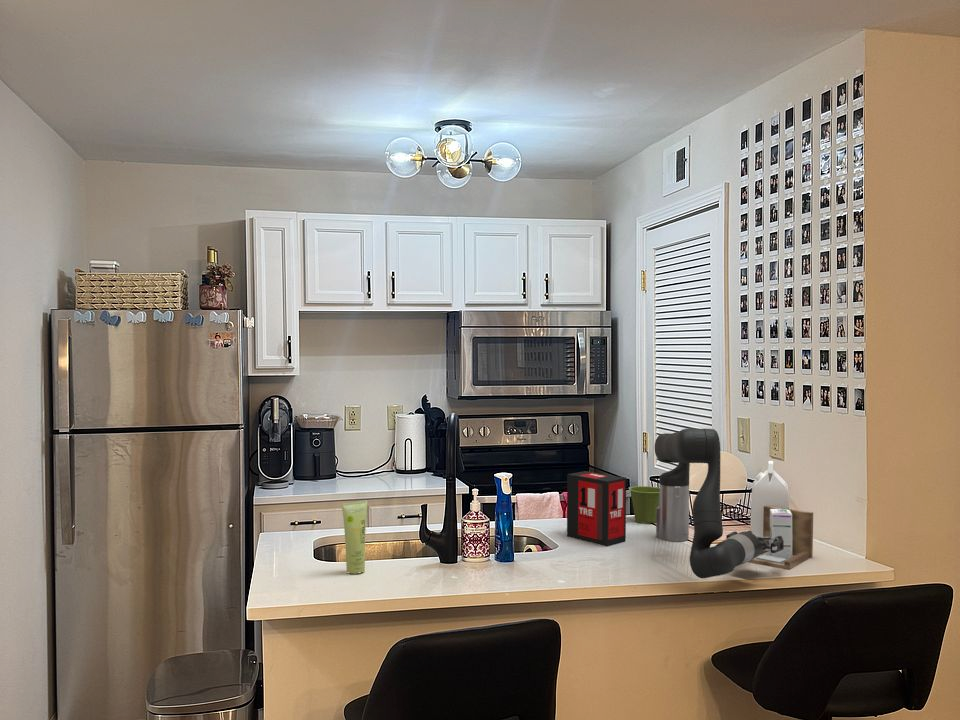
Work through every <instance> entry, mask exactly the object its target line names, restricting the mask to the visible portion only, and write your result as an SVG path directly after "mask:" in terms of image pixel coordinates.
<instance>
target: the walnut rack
mask: <svg viewBox="0 0 960 720" xmlns="http://www.w3.org/2000/svg"><path fill="white" fill-rule="evenodd" d="M770 509H785V508H779V507H772V506H764V516H763V537H769V538H770ZM788 510H790V511H791V513H792V558H790V559H788V560H786V561H784V564H780V563H775V562H770V561H765V560H759V559H756V558H754V559H752V560H750V561H748V562H747V563H751V564H755V565H756V564H757V565H761V566H766V567H771V568H778V569H780V570H781V569H782V570H788V571H789V570H792V569H793V568H795V567H797V566H799V565H800V564H802V563H804V562H805V561H808V560H809V559H812V558H813V553H814V552H813V551H814V549H813V548H814V544H813V543H814V542H813V541H814V512H812V511H811V512H810V511H805V510H798V509H792V508H789V509H788ZM764 541H765V542H766V540H764ZM767 552H770V550H765V551H761V552H760V553H759V555H758V556H761V555H764V554H765V553H767ZM758 556H757V557H758Z"/></svg>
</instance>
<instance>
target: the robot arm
mask: <svg viewBox="0 0 960 720" xmlns="http://www.w3.org/2000/svg"><path fill="white" fill-rule="evenodd" d="M654 454H655V457H656V458H657V460H658V461H659V462H660V463H663V464H664V463H665V464H667V463H668V464H677V466H676V467H674V468H673V469H671V470H669V471H665V472H663V473H661V474H660V475H659V478H658V479H659V482H658V483H659V484H658V485H659V486H658V488H659V507H657V509H656V524H655V531H656V532H655V537H656V538H658V539H661V540H664V541H669V542H685V541H688V540H689V534H690V532H689V531H690V530H689V529H690V525H689V523H690V465H691V464H707V474H706V477H705V480H704V481H703V483H702V485H701V487H700V488H699V490H698V492H697V494H696V496H695V498H694V501H693V505H692V520H693V537H692V543H691V547H690V552H689V566H690V568H691V571H692V573H693V574H694V575H695V577H697V578H699V579H708V578H713V577H719V576H723V575H726V574H727V575H728V574H730V573H732V572H733V571H734V570H735V569H736V567H738V566H741V565H744V564H746V563H749V562H748V561H750V560H752V559H756V557H758V555H759V553H760V552H761V551H765V550H771V553H776V552H779V551H781V550H783V549H784V540H783V538H782V536H777V537H775V538H769V537H759V536H755V535H754V534H752V531H750V530H747V531H740V532H738V531H731V532H730V533H728V534H726V535H725V536H726V539H725V540H722V541H720V542H718V543H717V544H716V545H714V546H712V544H713V543H714V542H715V541H718V540H719V539H720V538H721V537H722V536H723V535H724V534H723V533H724V528H723V518H722V511H721V442H720V436H719V433H718V431H717V430H716V429H713V428H692V427H691V428H683V429H681V430H679V431H675V432H673V433H666V432H664V433H660V434H659V435H658V436H657V437H656V438H655V442H654ZM764 540H766V542H765V541H764ZM771 541H773V542H771ZM759 556H760V555H759Z"/></svg>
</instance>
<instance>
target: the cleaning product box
mask: <svg viewBox="0 0 960 720" xmlns="http://www.w3.org/2000/svg"><path fill="white" fill-rule="evenodd" d="M566 476H567V477H566V480H567V481H566V537H568V538H572V539H575V540H579V541H583V542H588V543H591V544H594V545H595V544H596V545H600V546H603V547H611V546H615V545H618V544H622V543H625V542H626V539H627V537H626V535H627V534H626V533H627V528H626V527H627V477H621V476H616V475H610V474H604V473H599V472H594V471H593V472H592V471H587V470H583V471H578V472H572V473H568V474H567V475H566Z"/></svg>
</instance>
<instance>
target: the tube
mask: <svg viewBox="0 0 960 720" xmlns="http://www.w3.org/2000/svg"><path fill="white" fill-rule="evenodd" d="M368 504H369V503H368V499H366V500H359V501H354V502H345V503H341V509H342V516H343V517H342V518H343V526H344V527H343V528H344V540H345V541H344V543H345V561H346V562H345V565H346V573H347V572H349V573H359V572H363V571H364V572H365V571H366V570H365V568H366V561H365V560H366V528H367V512H368V511H367V510H368ZM364 572H363V573H364ZM349 573H348V574H349Z"/></svg>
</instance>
